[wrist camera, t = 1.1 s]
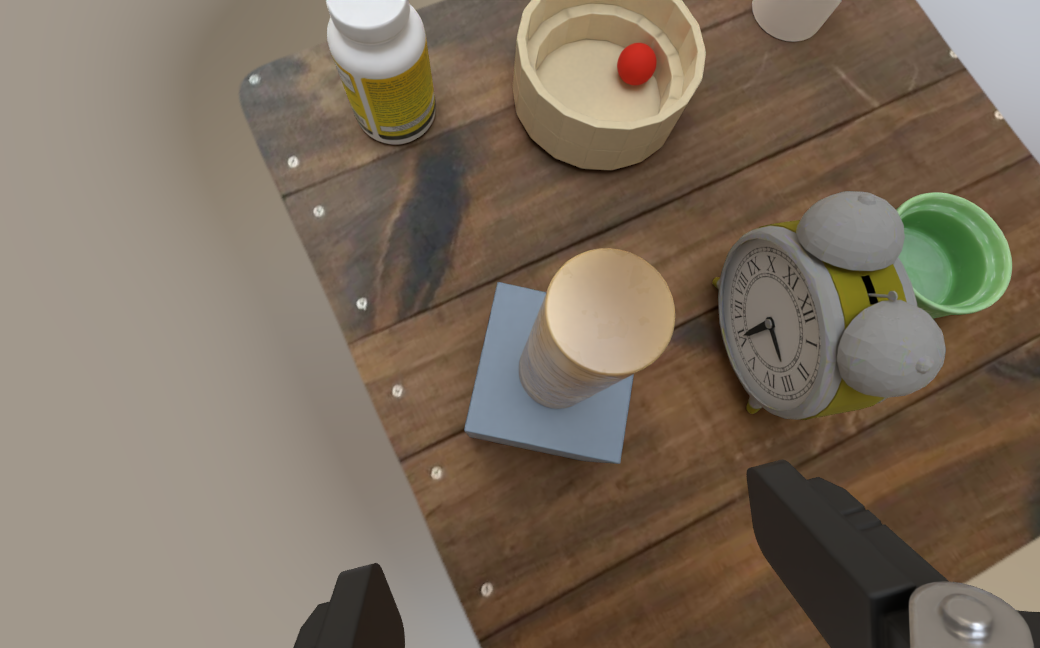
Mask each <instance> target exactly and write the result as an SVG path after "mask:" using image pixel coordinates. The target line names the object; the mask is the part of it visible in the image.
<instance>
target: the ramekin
mask: <svg viewBox="0 0 1040 648" xmlns="http://www.w3.org/2000/svg"><path fill="white" fill-rule="evenodd" d="M896 210H897V212H898V214H899V216H900V218H901V220H902V222H903V225H904V234H905V239H904V244H903V248H902V251H901V253H900V255H899V256H898V258H899V259H900V261H901V262H902V264H903V265H904V268H905V270H906V272H907V274H908V277H909V279H910V281H911V283H912V287H913V290H914V294H915V297H916V301H917V307H919V308H921V309H923V310H924V311H926V312H927V313H928V314H929V315H930V316H931V317H932V319H933V318H938V317H943V316H948V315H962V314H969V313H974V312H978V311H981V310H983V309H985V308H987V307H989V306H991V305H992V304H994V303H995V302H996V301H998V300H999V298H1000V297H1001V296H1002V295H1003V294H1004V292H1005V291H1006V289H1007V287H1008V284H1009V282H1010V278H1011V273H1012V258H1011V253H1010V249H1009V246H1008V243H1007V241H1006V239H1005V237H1004V235H1003V233H1002V231H1001V230H1000V229H999V227H998V225H997V224H996V223H995V221H994V220H993V219H992V218H991V217H990V216H989V215H988V214H987V213H986V212H984V211H983V210H982V209H981V208H979V207H978V206H976V205H975V204H973V203H972V202H970V201H968V200H966V199H964V198H961V197H958V196H955V195H952V194H947V193H926V194H922V195H918V196H915V197H913V198H911V199H909V200H908V201H906V202H904V203H903V204H902V205H901V206H900V207H899V208H897V209H896Z"/></svg>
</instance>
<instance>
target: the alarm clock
mask: <svg viewBox="0 0 1040 648" xmlns="http://www.w3.org/2000/svg"><path fill="white" fill-rule="evenodd" d="M904 239H905V234H904V225H903V222H902V220H901V218H900V216H899V214H898V212H897V210H895V209H894V208H893V207H892V206H891V205H890V204H889V203H888V202H887V201H886V200H884V199H882V198H880V197H877V196H875V195H873V194H870V193H867V192H852V191H846V192H840V193H837V194H834V195H831V196H829V197H826V198H824V199H822V200H820V201H818V202H817V203H815V204H814V205H813V206H812V207H811V208H810V209H809V210H808V211H807V212H806V213H805V214H804V215H803V217H802V219H801V220H797V221H790V222H783V223H776V224H770V225H766V226H761V227H759V228H757V229H753V230H751V231H749V232H748V233H746V234H744V235H743V236H742V237H741V238H740V239H739V240H738V241H737V242H736V243H735V244H734V245H733V247H732V248H731V250H730V251H729V253H728V255H727V258H726V260H725V263H724V266H723V269H722V272H721V276H720V277H716V278H714V279H713V282H712V283H713V285H714V286H715V287H716V288H718V289H719V293H718V305H719V323H720V328H721V333H722V338H723V342H724V345H725V348H726V351H727V354H728V357H729V360H730V363H731V366H732V368H733V370H734V371H735V373H736V375H737V377H738V378H739V380H740V382H741V384H742V385H743V387H744V388H745V390H746V392H747V393H748V394H749V395H750V398H749V401H748V404H747V407H746V409H747V411H748V412H749V413H751V414H754V413H756V412H757V411H758V410H760V409H761V408H762V407H763V408H764V409H765V410H767V411H768V412H770V413H772V414H774V415H777V416H779V417H782V418H784V419H796V420H797V419H801V420H807V419H812V418H817V417H823V416H828V415H833V414H839V413H844V412H849V411H855V410H860V409H863V408H867V407H871V406H873V405H875V404H877V403H880V402H882V401H883V400H885V399H886V398H888V397H896V396H905V395H908V394H910V393H912V392H915V391H917V390H919V389H921V388H923V387H925V386H926V385H927V384H928V383H929V382H930V381H932V380H933V379H934V378H935V376H936V375H937V373H938V372H939V370H940V369H941V367H942V365H943V363H944V357H945V352H946V348H945V343H944V338H943V333H942V331H941V329H940V328H939V327H938V325H937V324H936V322H935V321H934V320H933V319H932V317H931V316H930V315H929V314H928V313H927V312H926V311H924V310H923V309H921V308H919V307H917V301H916V297H915V294H914V290H913V287H912V283H911V281H910V279H909V277H908V274H907V272H906V270H905V268H904V265H903V264H902V262H901V261H900V259H899V258H898V256H899V255H900V253H901V251H902V248H903V244H904Z"/></svg>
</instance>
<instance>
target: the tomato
mask: <svg viewBox="0 0 1040 648" xmlns="http://www.w3.org/2000/svg"><path fill="white" fill-rule="evenodd" d="M656 63H657V62H656V55H655V53H654V51H653V50H652V48H651V47H649V46H648V45H646V44H644V43H633V44H631V45H629V46H627V47H626V48H625V49H624V50H623V51H622V52H621V54H620V56H619V58H618V62H617V70H618V74H619V76H620V78H621V79H622V80H623V81H624V82H625V83H627V84H629V85H641V84H643V83H645V82H647V81H648V80H649V79H650V78H651V77H652V75H653V74H654V72H655V69H656Z"/></svg>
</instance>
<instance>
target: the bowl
mask: <svg viewBox="0 0 1040 648" xmlns="http://www.w3.org/2000/svg"><path fill="white" fill-rule="evenodd" d="M633 43H644V44H646V45H648V46H649V47H651V48H652V50H653V51H654V53H655V55H656V62H657V63H656V69H655V72H654V74H653V75H652V77H651V78H650V79H649V80H648V81H647V82H645V83H643V84H641V85H629V84H627V83H625V82H624V81H623V80H622V79H621V78H620V76H619V74H618V70H617V62H618V58H619V56H620V54H621V52H622V51H623V50H624V49H625V48H626V47H627V46H629V45H631V44H633ZM705 56H706V50H705V47H704V43H703V39H702V35H701V31H700V27H699V25H698V23H697V21H696V20H695V18H694V17H693V15H692V14H691V13H690V11H689V10H688V8H687V7H686V5H685V4H684V2H683V1H682V0H531V2H530V3H529V4H528V6H527V7H526V8H525V9H524V11H523V14H522V18H521V22H520V26H519V31H518V35H517V41H516V53H515V65H514V77H513V95H514V101H515V107H516V113H517V116H518V117H519V119H520V121H521V122H522V124H523V126H524V127H525V129H526V131H527V132H528V134H529V136H530V137H531V138H532V140H534V141H535V142H536V143H537V144H538V145H540V146H541V147H542V148H543V149H544V150H546V151H547V152H548V153H549V154H550V155H552V156H553V157H554V158H556V159H559V160H561V161H564V162H566V163H569V164H572V165H574V166H577V167H579V168H583V169H597V170H615V169H618V168H622V167H626V166H629V165H633V164H637V163H639V162H642V161H643V160H644V159H646V158H647V157H649V156H650V155H651V154H653V153H654V152H656V151H657V150H658V149H660V148H661V147H662V146H663V144H664V143H665V141H666V140H667V138H668V136H669V135H670V133H671V132H672V130H673V128H674V127H675V125H676V123H677V122H678V120H679V118H680V117H681V115H682V113H683V112H684V110H685V108H686V106H687V105H688V103H689V101H690V100H691V98H692V96H693V95H694V93H695V91H696V89H697V88H698V86H699V84H700V83H701V81H702V77H703V70H704V63H705Z"/></svg>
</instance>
